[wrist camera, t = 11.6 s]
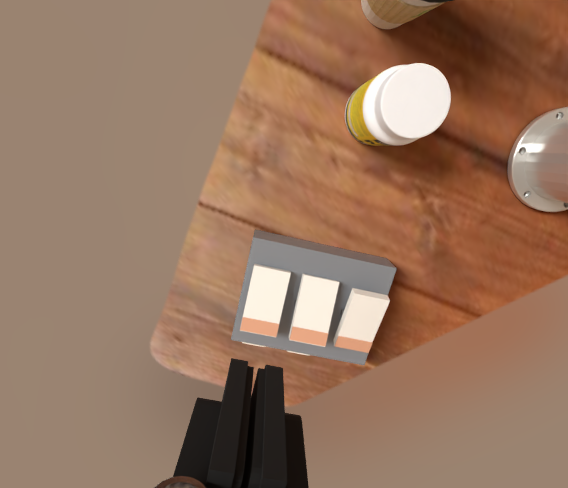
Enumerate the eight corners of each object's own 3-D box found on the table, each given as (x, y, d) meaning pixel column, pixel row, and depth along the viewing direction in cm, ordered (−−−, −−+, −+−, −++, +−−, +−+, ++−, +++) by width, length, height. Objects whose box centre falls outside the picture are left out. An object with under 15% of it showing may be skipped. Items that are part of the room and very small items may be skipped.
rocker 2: (337, 280, 43) (339, 282, 42) (323, 343, 44) (325, 347, 42) (302, 273, 43) (304, 274, 42) (288, 337, 43) (289, 340, 42)
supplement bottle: (350, 152, 43) (381, 155, 31) (337, 91, 41) (364, 68, 29) (409, 136, 43) (463, 132, 31) (398, 73, 41) (452, 43, 29)
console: (386, 258, 47) (399, 271, 42) (356, 350, 51) (365, 371, 46) (254, 229, 46) (252, 239, 41) (233, 326, 49) (229, 345, 44)
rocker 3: (387, 295, 42) (390, 301, 41) (365, 346, 46) (368, 353, 44) (352, 287, 42) (354, 294, 41) (333, 339, 45) (334, 347, 44)
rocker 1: (290, 271, 43) (291, 273, 41) (275, 333, 43) (276, 337, 42) (254, 263, 42) (254, 265, 41) (240, 326, 43) (239, 330, 42)
